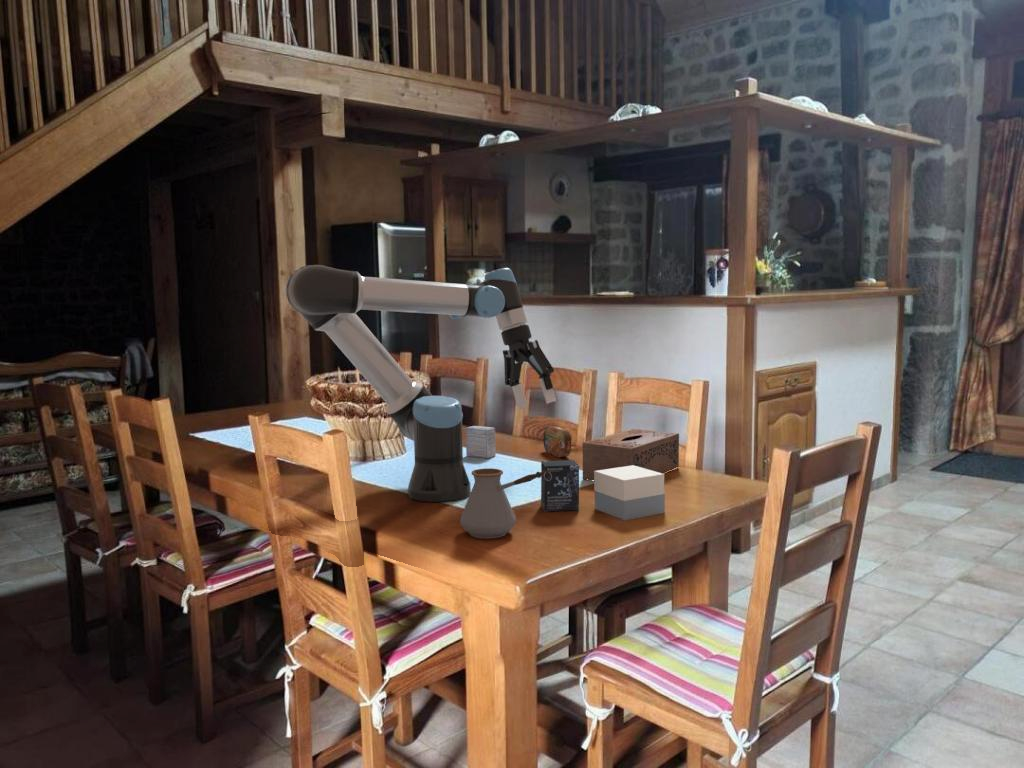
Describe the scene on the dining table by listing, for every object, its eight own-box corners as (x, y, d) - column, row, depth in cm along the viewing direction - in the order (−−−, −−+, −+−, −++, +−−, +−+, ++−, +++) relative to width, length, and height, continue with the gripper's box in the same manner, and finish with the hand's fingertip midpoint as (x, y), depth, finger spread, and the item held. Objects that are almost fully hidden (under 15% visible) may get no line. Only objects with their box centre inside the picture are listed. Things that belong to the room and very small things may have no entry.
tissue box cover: (631, 488, 209) (631, 448, 207) (582, 480, 217) (582, 442, 216) (678, 469, 229) (679, 433, 228) (632, 463, 238) (632, 428, 236)
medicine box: (496, 456, 249) (495, 427, 248) (487, 458, 245) (487, 429, 244) (474, 453, 253) (473, 425, 252) (465, 456, 249) (465, 427, 248)
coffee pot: (448, 535, 170) (446, 462, 168) (484, 522, 179) (483, 453, 177) (532, 554, 157) (531, 476, 155) (567, 539, 166) (566, 465, 164)
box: (545, 512, 186) (544, 465, 185) (540, 506, 192) (540, 460, 191) (579, 510, 187) (579, 464, 186) (574, 504, 193) (574, 459, 192)
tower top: (623, 501, 179) (624, 480, 178) (594, 490, 188) (594, 470, 188) (664, 494, 184) (664, 474, 184) (633, 484, 194) (633, 465, 193)
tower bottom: (624, 521, 179) (624, 501, 179) (594, 510, 189) (594, 490, 188) (664, 514, 185) (664, 494, 184) (633, 503, 194) (633, 484, 194)
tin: (542, 451, 256) (542, 424, 255) (551, 450, 257) (551, 423, 256) (563, 460, 242) (563, 431, 241) (573, 459, 243) (573, 430, 242)
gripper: (551, 314, 210) (575, 395, 210) (501, 333, 231) (523, 407, 231) (527, 320, 206) (552, 403, 206) (479, 339, 227) (501, 414, 227)
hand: (537, 405), depth 218 cm, fingers open, 13 cm apart
